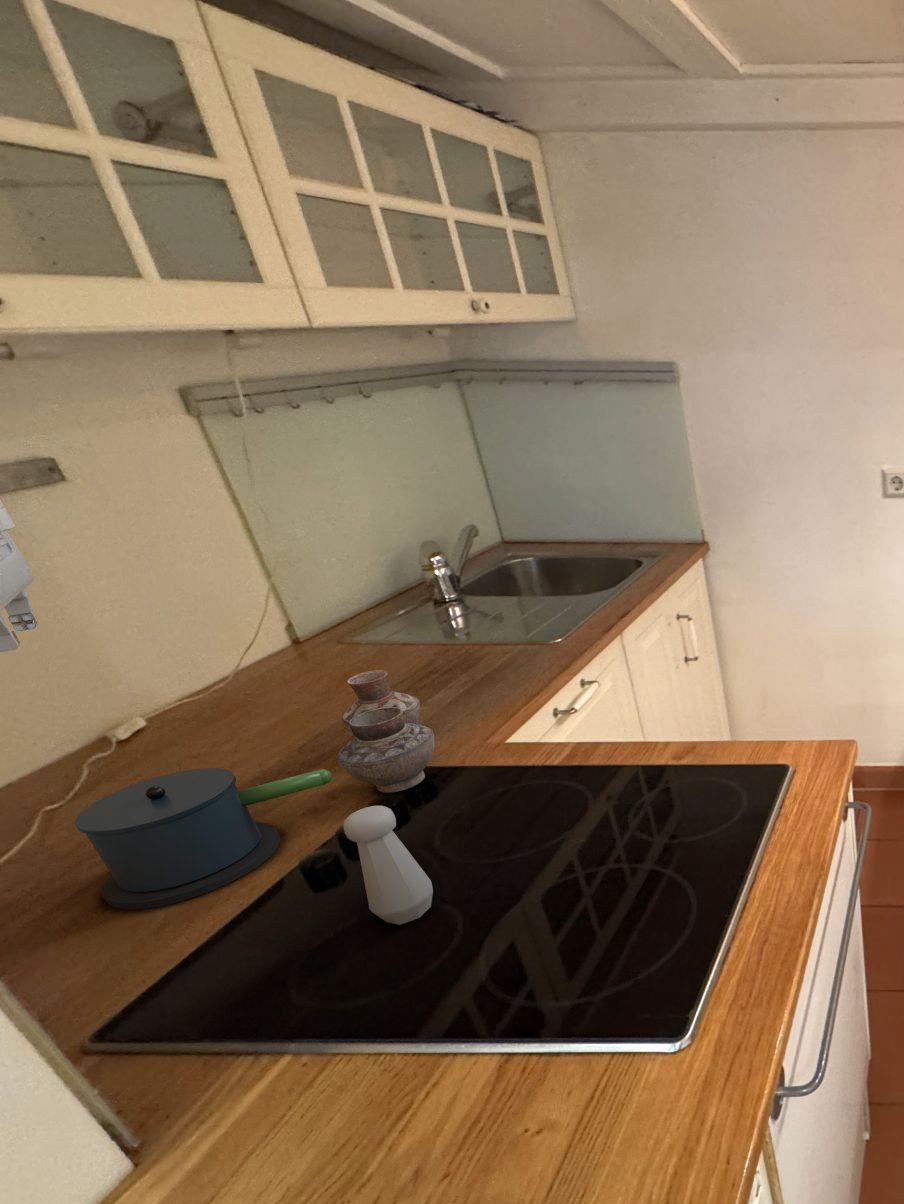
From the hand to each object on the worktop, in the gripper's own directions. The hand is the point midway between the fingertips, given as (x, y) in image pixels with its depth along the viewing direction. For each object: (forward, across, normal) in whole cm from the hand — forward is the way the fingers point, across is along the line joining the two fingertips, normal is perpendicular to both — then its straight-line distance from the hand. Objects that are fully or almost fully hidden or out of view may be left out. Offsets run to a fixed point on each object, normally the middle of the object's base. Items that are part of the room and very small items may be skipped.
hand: (19, 638), depth 89 cm
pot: (+26, +16, +11) cm, 32 cm away
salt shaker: (+27, +44, +26) cm, 58 cm away
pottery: (+27, +3, +29) cm, 40 cm away
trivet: (+27, +16, +7) cm, 32 cm away
